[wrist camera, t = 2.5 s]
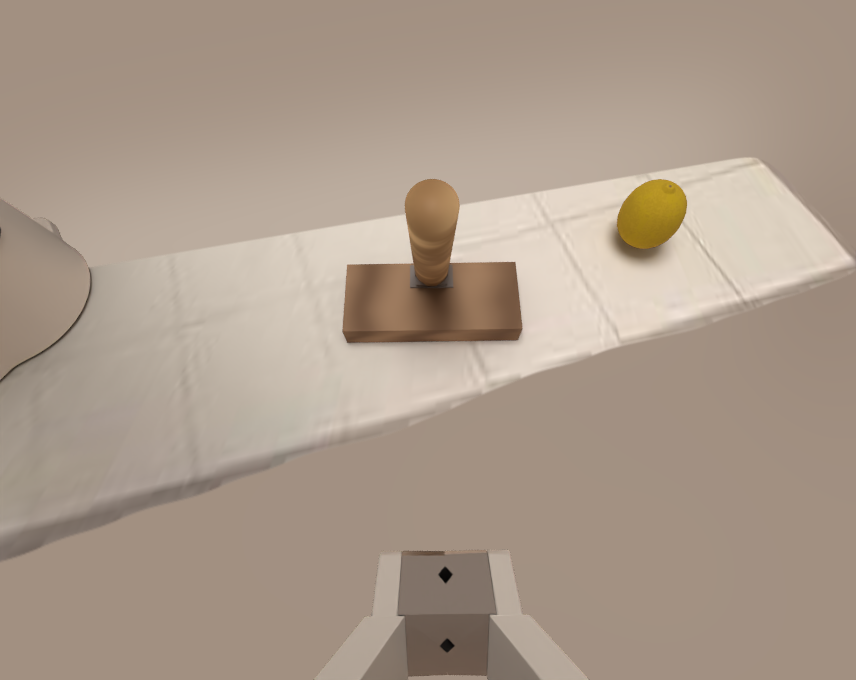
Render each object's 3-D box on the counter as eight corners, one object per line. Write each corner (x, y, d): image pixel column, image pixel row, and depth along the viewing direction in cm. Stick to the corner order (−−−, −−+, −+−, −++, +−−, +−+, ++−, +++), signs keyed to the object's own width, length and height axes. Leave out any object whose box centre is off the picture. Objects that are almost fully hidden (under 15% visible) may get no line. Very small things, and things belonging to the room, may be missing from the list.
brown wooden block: (347, 342, 42) (342, 330, 39) (351, 278, 45) (346, 263, 42) (517, 340, 42) (522, 327, 39) (511, 276, 45) (515, 260, 42)
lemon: (605, 217, 47) (636, 159, 40) (658, 222, 47) (700, 165, 40) (606, 260, 45) (640, 207, 38) (662, 266, 45) (706, 214, 38)
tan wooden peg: (415, 288, 41) (405, 233, 24) (415, 256, 41) (404, 179, 24) (447, 288, 41) (460, 232, 24) (447, 256, 41) (459, 178, 24)
